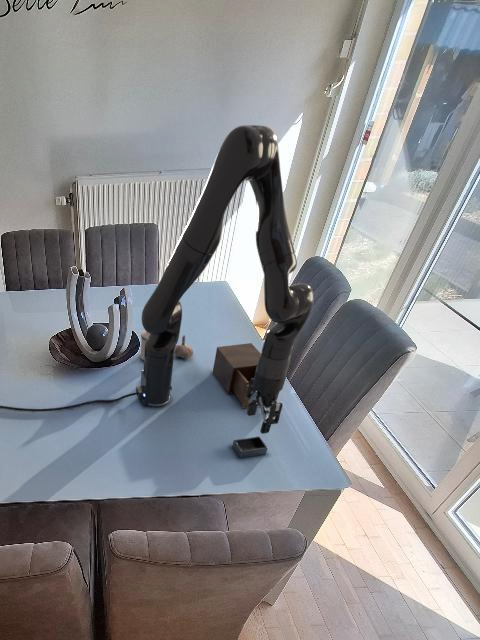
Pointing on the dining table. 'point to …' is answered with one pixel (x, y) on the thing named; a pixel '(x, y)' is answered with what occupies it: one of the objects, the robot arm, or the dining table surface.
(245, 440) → the tray
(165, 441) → the dining table surface
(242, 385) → the drawer
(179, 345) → the garlic bulb
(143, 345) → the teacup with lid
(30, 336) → the dining table surface
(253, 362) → the cabinet
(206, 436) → the dining table surface
